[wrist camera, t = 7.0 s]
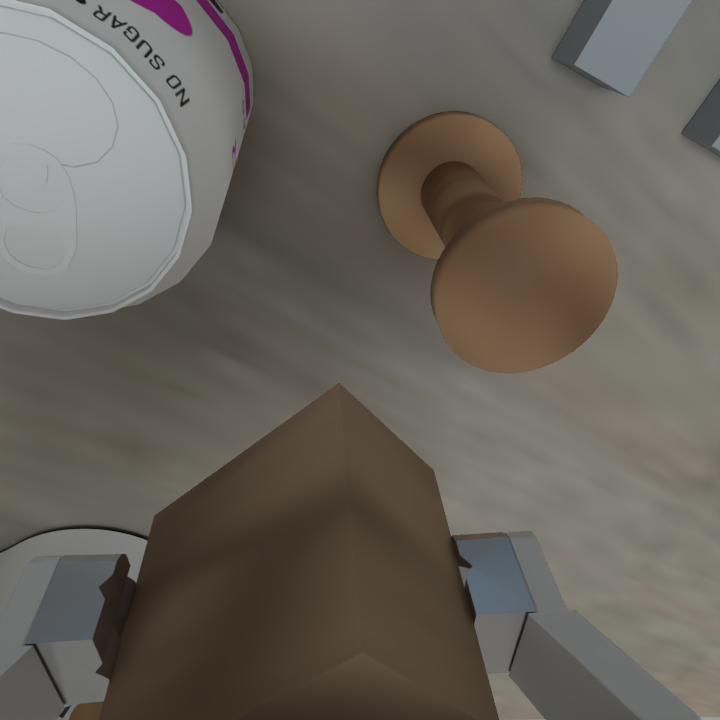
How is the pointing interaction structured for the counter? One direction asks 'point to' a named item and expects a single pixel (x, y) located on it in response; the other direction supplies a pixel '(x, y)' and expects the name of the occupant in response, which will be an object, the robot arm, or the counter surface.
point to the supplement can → (113, 147)
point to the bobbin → (494, 246)
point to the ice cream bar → (303, 588)
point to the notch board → (631, 52)
